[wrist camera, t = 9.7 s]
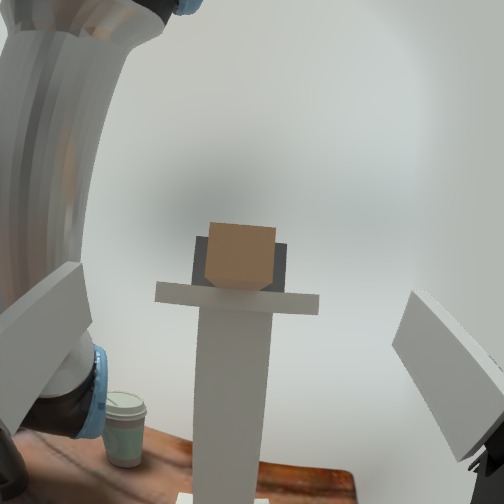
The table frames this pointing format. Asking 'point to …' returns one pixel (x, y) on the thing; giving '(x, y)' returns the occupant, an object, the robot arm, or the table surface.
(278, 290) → the hammer
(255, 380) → the tall stand
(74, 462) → the table surface
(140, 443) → the coffee cup
